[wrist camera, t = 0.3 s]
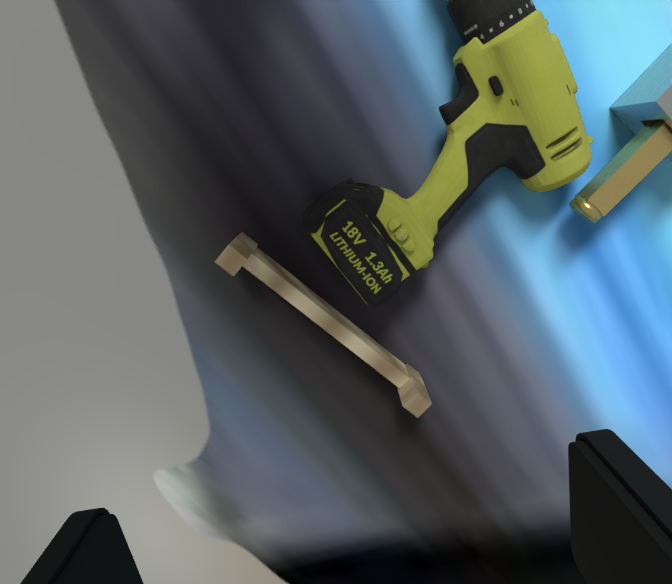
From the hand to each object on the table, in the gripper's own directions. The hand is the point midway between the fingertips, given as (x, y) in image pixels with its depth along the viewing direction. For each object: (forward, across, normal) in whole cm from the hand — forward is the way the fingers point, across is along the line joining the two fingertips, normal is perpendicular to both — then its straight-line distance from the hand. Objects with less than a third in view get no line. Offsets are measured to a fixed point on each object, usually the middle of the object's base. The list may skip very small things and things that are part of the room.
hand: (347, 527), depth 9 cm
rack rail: (+36, +2, +8) cm, 37 cm away
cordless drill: (+36, -8, -9) cm, 38 cm away
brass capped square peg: (+34, -26, -1) cm, 42 cm away
